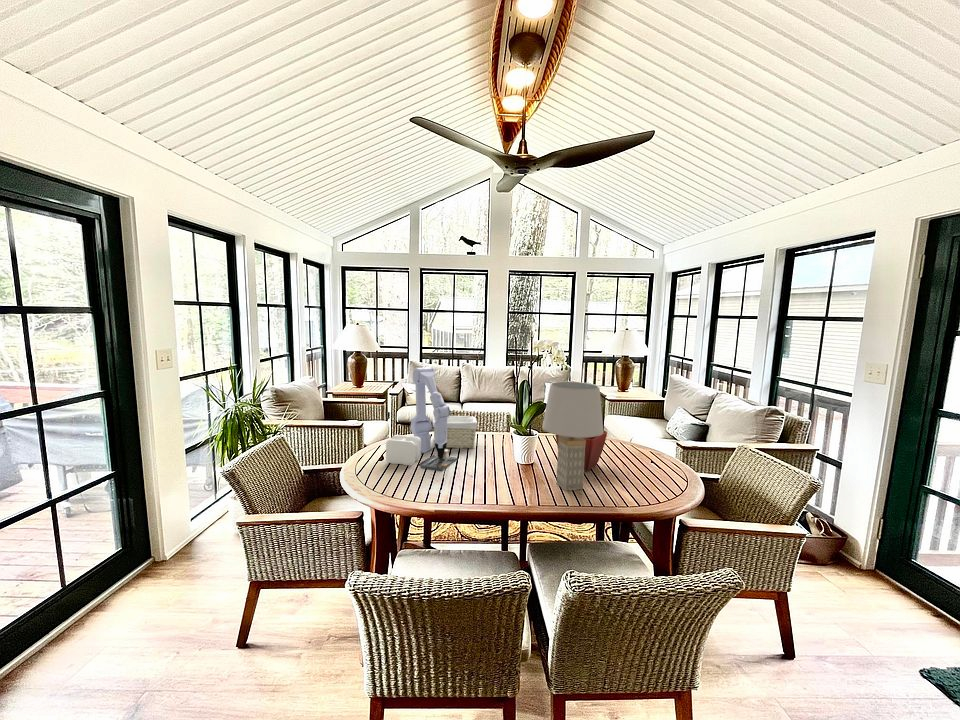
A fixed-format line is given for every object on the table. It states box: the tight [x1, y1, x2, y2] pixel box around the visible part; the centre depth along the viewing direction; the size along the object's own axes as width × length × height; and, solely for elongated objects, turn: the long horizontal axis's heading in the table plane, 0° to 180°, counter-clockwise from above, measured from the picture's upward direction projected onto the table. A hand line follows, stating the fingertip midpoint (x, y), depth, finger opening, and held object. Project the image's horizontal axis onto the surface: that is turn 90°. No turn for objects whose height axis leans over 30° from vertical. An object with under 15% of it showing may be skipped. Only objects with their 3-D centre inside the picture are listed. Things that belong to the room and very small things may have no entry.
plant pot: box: [555, 430, 608, 472], centre depth 211 cm, size 19×19×17 cm
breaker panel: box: [420, 454, 458, 472], centre depth 208 cm, size 17×11×2 cm, turn 159°
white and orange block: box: [443, 448, 450, 459], centre depth 212 cm, size 3×4×4 cm
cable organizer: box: [385, 434, 422, 466], centre depth 209 cm, size 15×11×12 cm
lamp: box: [541, 381, 604, 492], centre depth 182 cm, size 25×25×44 cm
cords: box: [417, 454, 436, 467], centre depth 211 cm, size 15×2×1 cm, turn 159°
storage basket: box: [432, 415, 478, 449], centre depth 238 cm, size 24×16×15 cm
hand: (440, 458), depth 209 cm, fingers closed
